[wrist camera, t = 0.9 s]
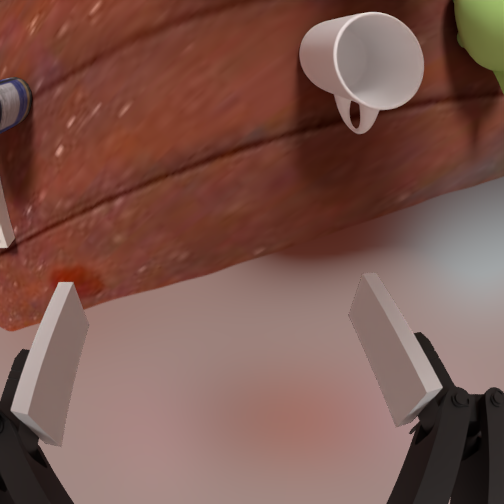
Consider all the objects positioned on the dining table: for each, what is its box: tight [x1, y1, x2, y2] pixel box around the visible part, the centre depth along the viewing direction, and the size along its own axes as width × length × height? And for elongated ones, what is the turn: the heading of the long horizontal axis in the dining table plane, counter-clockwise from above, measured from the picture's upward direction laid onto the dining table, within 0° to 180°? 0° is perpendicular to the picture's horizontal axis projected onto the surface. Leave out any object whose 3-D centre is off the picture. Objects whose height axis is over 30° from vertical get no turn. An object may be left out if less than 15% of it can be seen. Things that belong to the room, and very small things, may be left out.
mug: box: [299, 12, 424, 134], centre depth 26 cm, size 9×12×11 cm
